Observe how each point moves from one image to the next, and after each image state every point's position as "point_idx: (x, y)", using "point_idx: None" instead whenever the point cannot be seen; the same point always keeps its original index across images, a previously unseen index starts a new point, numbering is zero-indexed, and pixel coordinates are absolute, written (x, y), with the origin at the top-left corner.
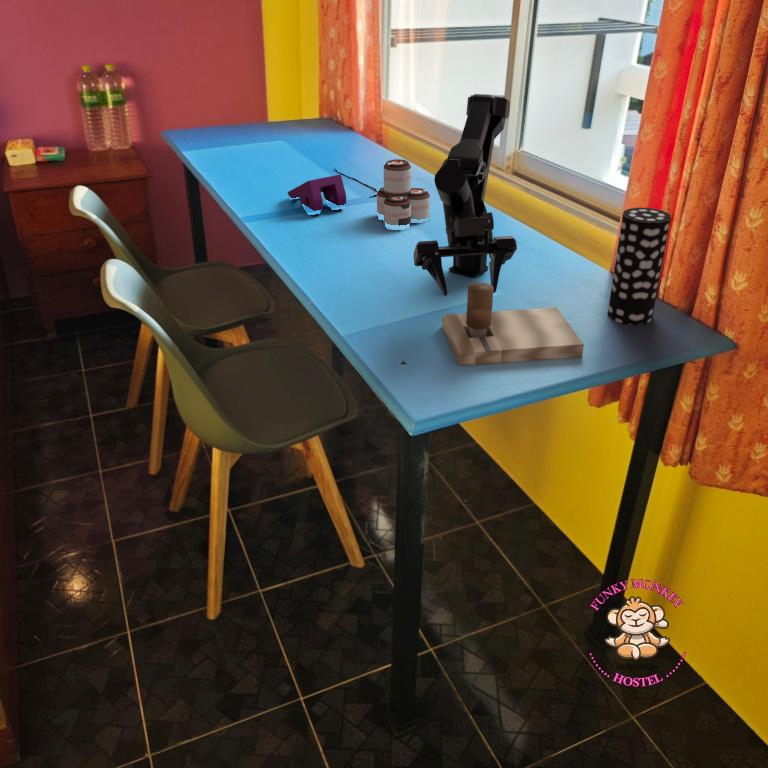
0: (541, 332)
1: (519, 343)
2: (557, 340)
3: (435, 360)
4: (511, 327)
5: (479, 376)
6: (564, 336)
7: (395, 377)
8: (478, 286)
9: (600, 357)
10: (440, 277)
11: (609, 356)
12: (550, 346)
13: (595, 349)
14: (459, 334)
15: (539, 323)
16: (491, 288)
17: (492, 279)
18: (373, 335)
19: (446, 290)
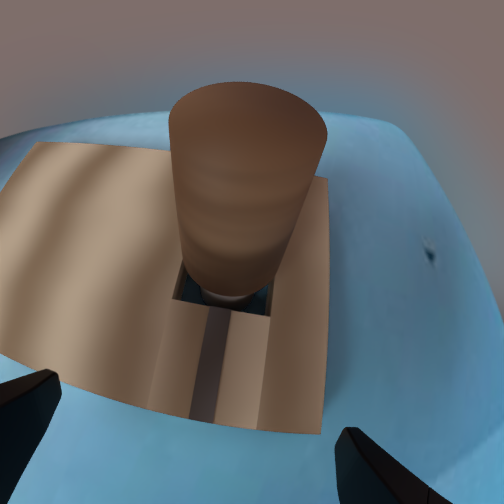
0: (59, 200)
1: (150, 169)
2: (62, 161)
3: (366, 242)
4: (108, 251)
5: None
6: (36, 172)
7: (438, 214)
8: (257, 127)
9: None
10: (418, 487)
11: (13, 158)
12: (96, 144)
13: (7, 181)
14: (302, 264)
15: (25, 246)
16: (195, 96)
17: (17, 429)
18: (482, 401)
19: (355, 438)
